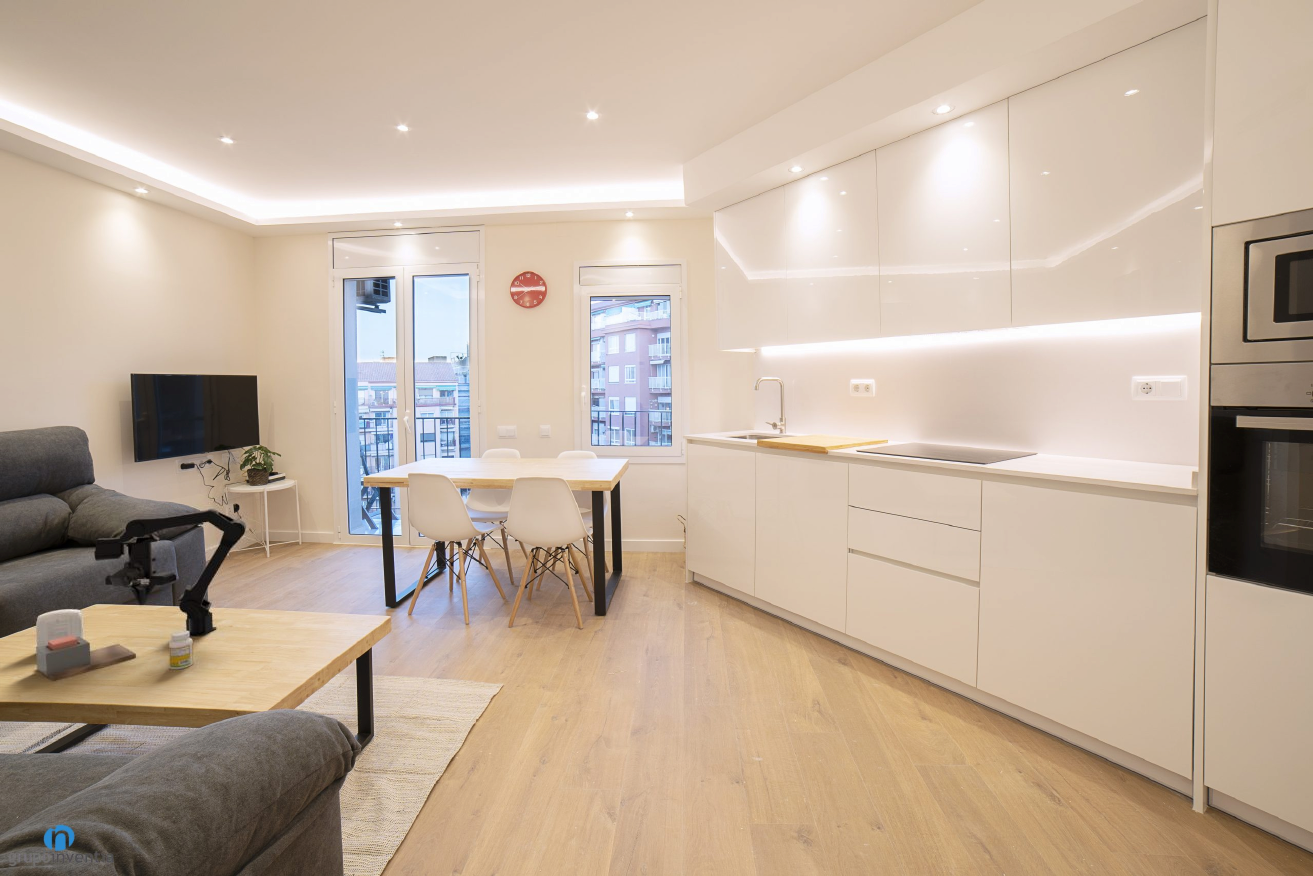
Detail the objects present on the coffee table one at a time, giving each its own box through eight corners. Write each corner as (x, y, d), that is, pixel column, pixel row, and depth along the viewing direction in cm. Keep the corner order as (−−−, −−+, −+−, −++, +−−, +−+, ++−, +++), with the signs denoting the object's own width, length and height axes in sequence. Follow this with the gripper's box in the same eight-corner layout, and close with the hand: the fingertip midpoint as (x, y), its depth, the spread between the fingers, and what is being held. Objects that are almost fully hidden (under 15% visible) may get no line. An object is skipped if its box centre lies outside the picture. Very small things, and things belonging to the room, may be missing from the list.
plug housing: (80, 656, 175) (79, 636, 175) (90, 663, 170) (89, 643, 170) (37, 667, 167) (36, 647, 167) (46, 675, 163) (45, 654, 162)
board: (118, 647, 184) (118, 643, 184) (136, 657, 177) (135, 653, 177) (37, 669, 169) (36, 665, 169) (52, 681, 162) (52, 676, 162)
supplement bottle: (178, 662, 174) (177, 629, 174) (198, 661, 174) (196, 629, 174) (165, 670, 169) (163, 637, 168) (185, 669, 169) (183, 636, 169)
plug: (72, 655, 172) (71, 635, 172) (78, 659, 169) (77, 638, 169) (48, 661, 168) (47, 641, 168) (54, 665, 165) (53, 644, 165)
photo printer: (85, 643, 187) (83, 605, 187) (81, 648, 184) (79, 609, 183) (39, 651, 182) (37, 611, 181) (35, 655, 178) (33, 615, 178)
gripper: (86, 563, 180) (89, 613, 181) (146, 563, 180) (148, 613, 180) (120, 554, 191) (122, 601, 192) (176, 554, 191) (178, 602, 191)
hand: (142, 604), depth 189 cm, fingers closed
